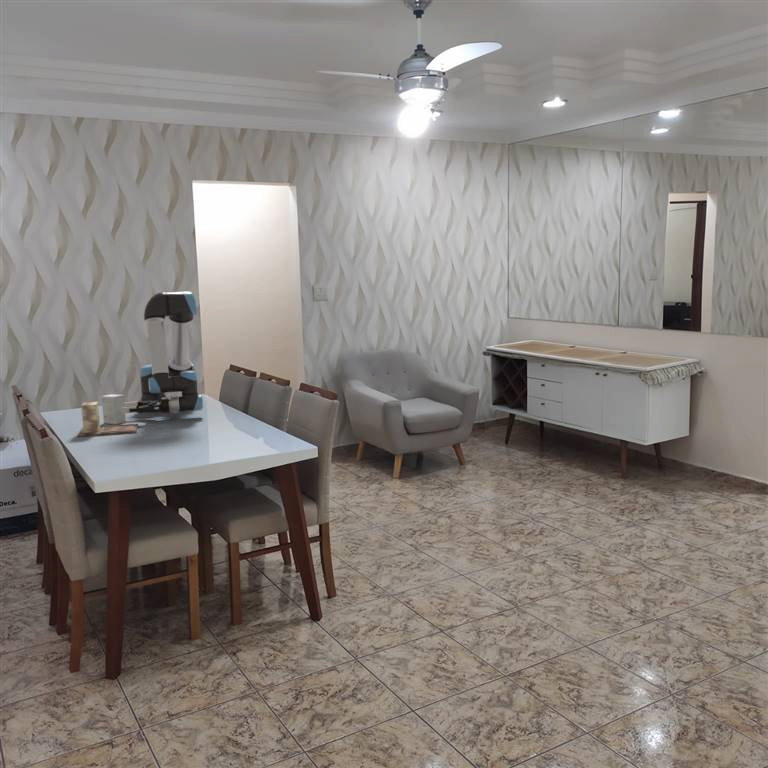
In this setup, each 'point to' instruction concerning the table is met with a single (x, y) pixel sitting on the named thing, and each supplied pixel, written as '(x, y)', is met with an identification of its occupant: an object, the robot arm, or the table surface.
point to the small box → (113, 409)
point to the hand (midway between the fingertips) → (122, 408)
